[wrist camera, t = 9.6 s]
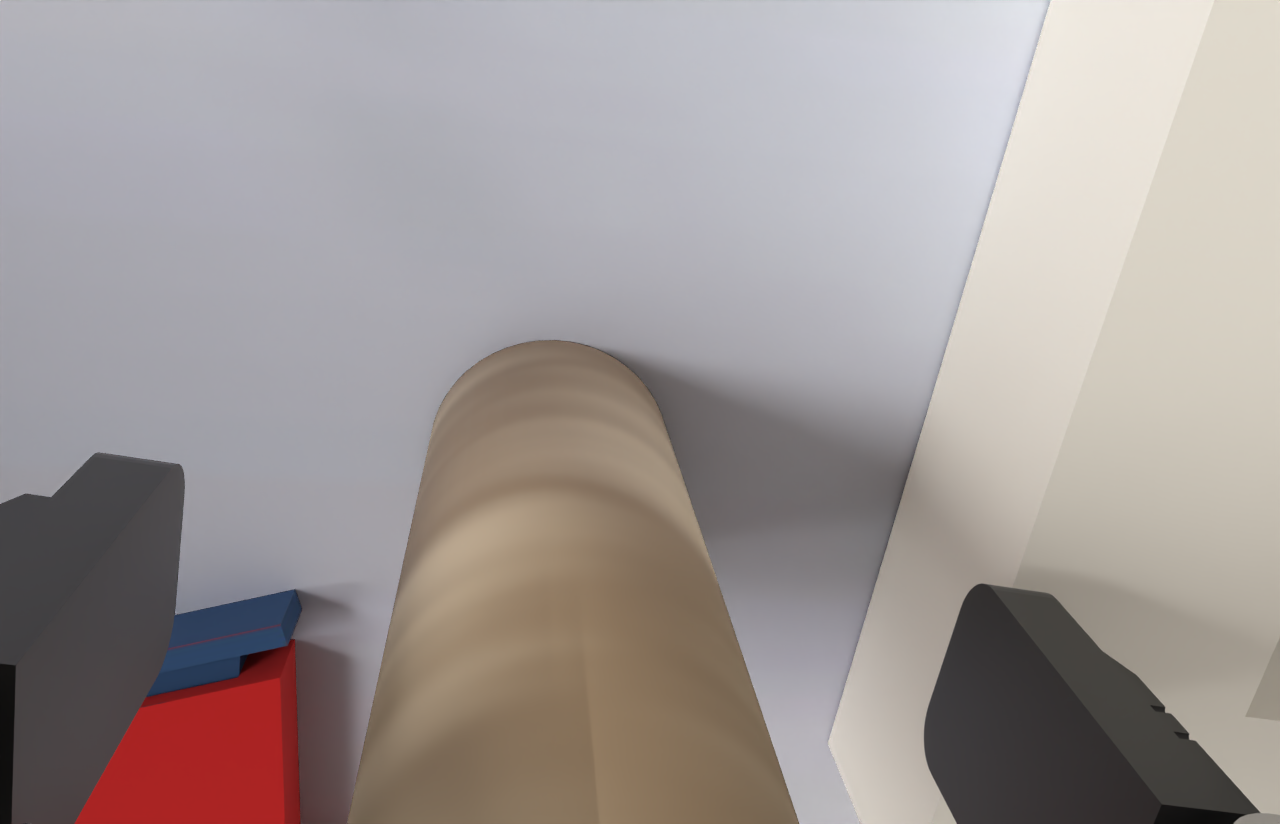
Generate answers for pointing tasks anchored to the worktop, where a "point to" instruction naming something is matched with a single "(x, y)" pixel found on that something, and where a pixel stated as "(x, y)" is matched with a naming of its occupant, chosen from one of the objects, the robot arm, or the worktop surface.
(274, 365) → the worktop surface
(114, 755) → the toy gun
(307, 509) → the worktop surface
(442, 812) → the dowel
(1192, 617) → the socket block
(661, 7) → the worktop surface
